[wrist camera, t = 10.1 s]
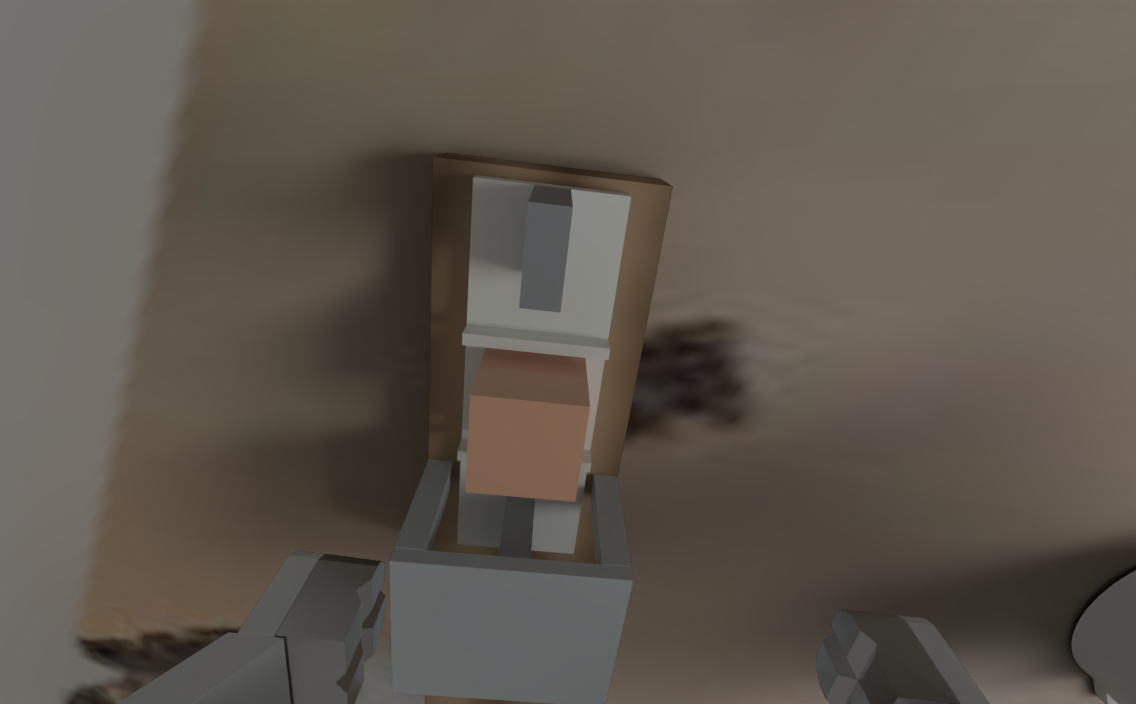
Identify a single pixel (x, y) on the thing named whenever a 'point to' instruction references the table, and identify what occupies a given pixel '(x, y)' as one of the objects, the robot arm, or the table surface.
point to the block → (527, 425)
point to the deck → (451, 321)
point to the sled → (537, 326)
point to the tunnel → (506, 609)
